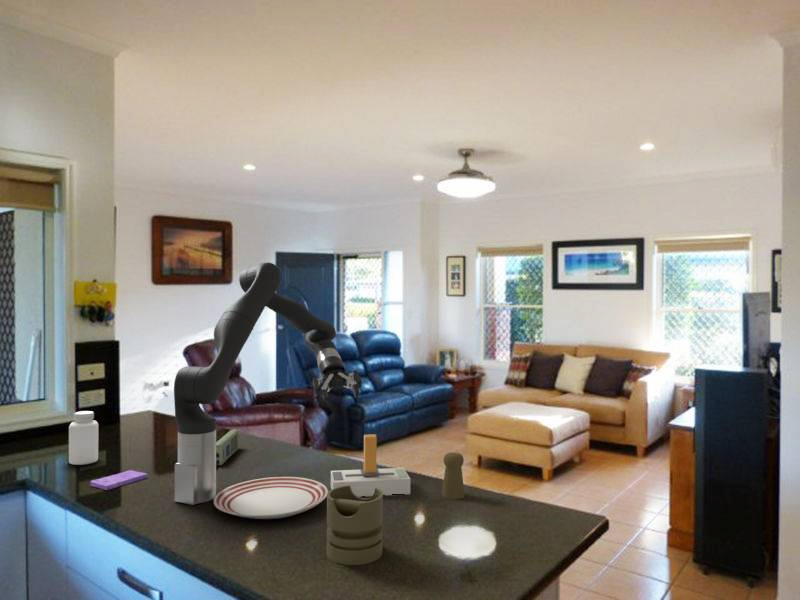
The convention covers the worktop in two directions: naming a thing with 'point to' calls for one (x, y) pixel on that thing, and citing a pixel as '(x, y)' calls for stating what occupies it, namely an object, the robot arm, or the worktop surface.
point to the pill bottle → (83, 439)
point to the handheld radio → (226, 446)
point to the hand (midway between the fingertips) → (342, 398)
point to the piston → (354, 526)
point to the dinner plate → (271, 497)
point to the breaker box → (373, 481)
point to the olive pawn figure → (453, 477)
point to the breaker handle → (370, 456)
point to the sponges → (118, 480)
